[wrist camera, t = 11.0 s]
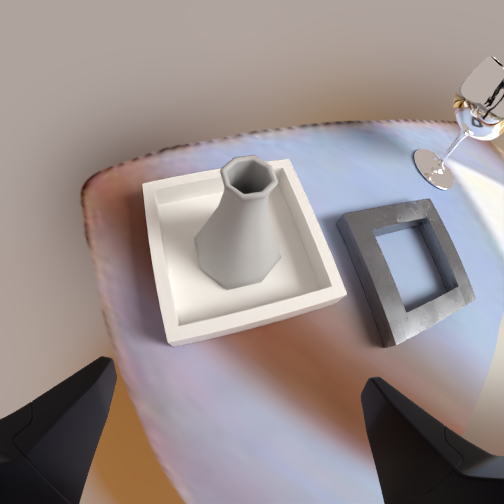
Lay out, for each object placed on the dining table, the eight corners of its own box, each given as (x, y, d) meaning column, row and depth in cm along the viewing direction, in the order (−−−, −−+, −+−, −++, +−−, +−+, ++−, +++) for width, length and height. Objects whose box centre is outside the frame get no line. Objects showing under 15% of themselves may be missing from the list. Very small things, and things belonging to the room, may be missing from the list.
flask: (180, 236, 25) (164, 159, 16) (248, 201, 27) (263, 120, 18) (224, 305, 23) (229, 255, 14) (294, 261, 25) (335, 195, 16)
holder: (464, 304, 26) (476, 298, 24) (384, 348, 23) (396, 344, 22) (421, 207, 31) (429, 198, 29) (336, 224, 28) (343, 213, 26)
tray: (333, 304, 25) (347, 294, 22) (174, 347, 22) (167, 342, 19) (282, 177, 30) (288, 159, 27) (148, 202, 27) (142, 183, 24)
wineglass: (461, 191, 34) (539, 102, 16) (429, 192, 33) (516, 84, 14) (437, 151, 37) (500, 60, 19) (404, 147, 36) (470, 40, 18)
